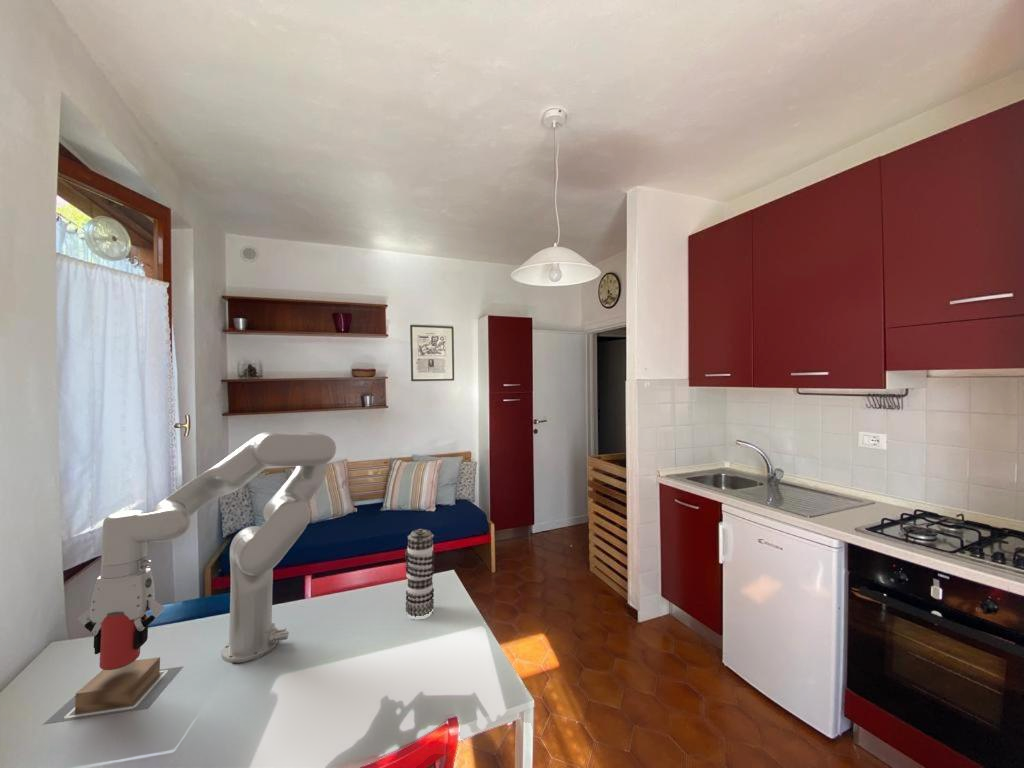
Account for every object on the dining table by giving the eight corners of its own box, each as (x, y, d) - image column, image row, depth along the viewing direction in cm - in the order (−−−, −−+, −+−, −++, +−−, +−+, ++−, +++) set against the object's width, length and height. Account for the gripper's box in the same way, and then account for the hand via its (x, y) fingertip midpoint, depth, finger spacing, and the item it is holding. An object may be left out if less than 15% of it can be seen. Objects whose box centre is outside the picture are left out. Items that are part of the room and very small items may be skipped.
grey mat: (183, 668, 101) (183, 666, 101) (147, 710, 87) (147, 708, 87) (94, 679, 96) (94, 677, 97) (42, 726, 83) (42, 723, 83)
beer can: (114, 674, 88) (117, 617, 88) (91, 669, 89) (93, 613, 90) (147, 655, 94) (149, 602, 95) (125, 651, 96) (127, 599, 96)
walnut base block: (159, 674, 98) (160, 657, 98) (131, 704, 88) (132, 685, 88) (109, 681, 96) (109, 663, 96) (74, 713, 86) (75, 693, 86)
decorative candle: (406, 606, 131) (407, 527, 132) (435, 604, 132) (436, 526, 133) (402, 621, 122) (403, 536, 123) (433, 619, 123) (434, 535, 124)
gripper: (177, 557, 98) (175, 633, 98) (90, 564, 94) (86, 643, 94) (159, 570, 91) (156, 652, 91) (63, 578, 87) (59, 664, 86)
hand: (120, 647), depth 92 cm, fingers closed on beer can, 6 cm apart
